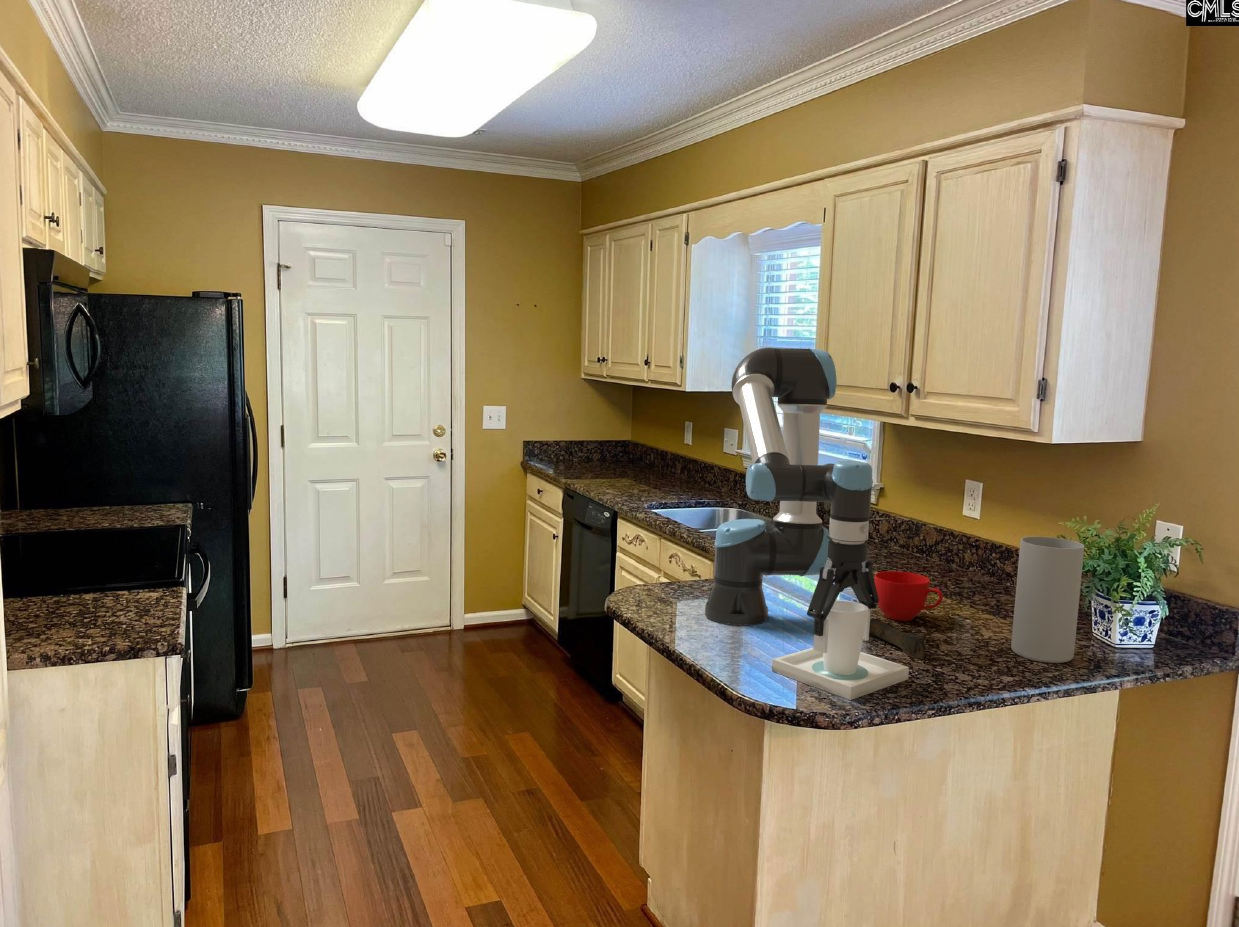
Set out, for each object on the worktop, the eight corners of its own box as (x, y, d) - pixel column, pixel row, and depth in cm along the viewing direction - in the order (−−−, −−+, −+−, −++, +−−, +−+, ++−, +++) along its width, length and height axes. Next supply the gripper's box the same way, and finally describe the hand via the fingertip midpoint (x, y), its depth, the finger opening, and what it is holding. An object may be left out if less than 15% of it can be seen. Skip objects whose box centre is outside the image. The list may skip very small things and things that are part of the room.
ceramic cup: (928, 632, 218) (931, 590, 217) (862, 616, 230) (865, 576, 228) (951, 621, 228) (954, 581, 227) (887, 606, 239) (889, 568, 238)
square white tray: (771, 671, 188) (772, 659, 188) (830, 653, 200) (830, 642, 200) (850, 700, 174) (851, 687, 174) (908, 679, 186) (908, 667, 186)
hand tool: (864, 635, 215) (865, 615, 215) (879, 633, 216) (880, 614, 216) (912, 662, 197) (914, 641, 197) (929, 661, 198) (930, 639, 198)
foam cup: (873, 676, 184) (877, 611, 182) (830, 679, 181) (835, 614, 180) (848, 660, 193) (852, 598, 191) (807, 663, 190) (811, 600, 189)
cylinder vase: (1012, 659, 201) (1022, 544, 198) (1009, 642, 212) (1019, 534, 209) (1076, 667, 197) (1087, 551, 193) (1070, 650, 208) (1080, 540, 205)
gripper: (824, 551, 173) (817, 662, 176) (901, 536, 189) (893, 638, 192) (792, 543, 179) (786, 651, 181) (869, 530, 195) (862, 629, 197)
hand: (841, 644), depth 186 cm, fingers open, 13 cm apart
